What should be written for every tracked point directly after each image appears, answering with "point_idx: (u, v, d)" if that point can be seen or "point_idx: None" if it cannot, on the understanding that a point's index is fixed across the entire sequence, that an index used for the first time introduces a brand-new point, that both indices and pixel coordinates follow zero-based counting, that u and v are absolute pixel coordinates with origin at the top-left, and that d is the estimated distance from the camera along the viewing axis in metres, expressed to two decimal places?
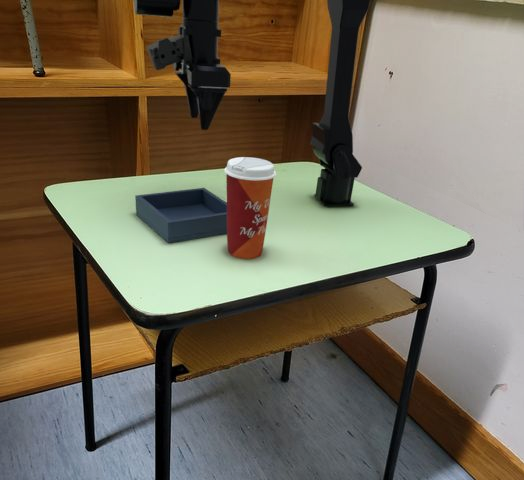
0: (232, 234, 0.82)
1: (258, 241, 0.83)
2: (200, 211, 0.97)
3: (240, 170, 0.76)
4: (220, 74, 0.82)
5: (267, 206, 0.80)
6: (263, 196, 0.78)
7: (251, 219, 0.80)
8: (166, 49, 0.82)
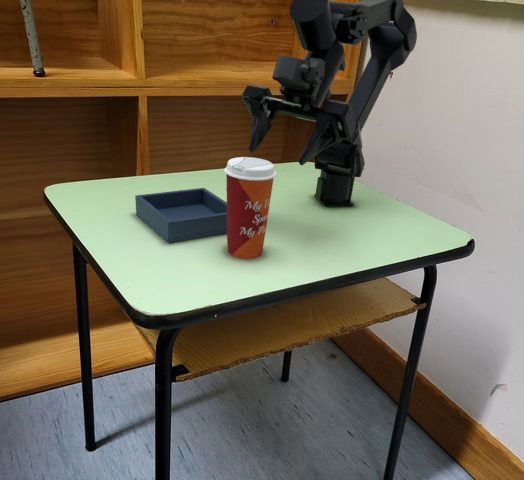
0: (232, 234, 0.82)
1: (258, 241, 0.83)
2: (200, 211, 0.97)
3: (240, 170, 0.76)
4: (354, 124, 0.83)
5: (267, 206, 0.80)
6: (263, 195, 0.78)
7: (251, 219, 0.80)
8: (320, 70, 0.78)
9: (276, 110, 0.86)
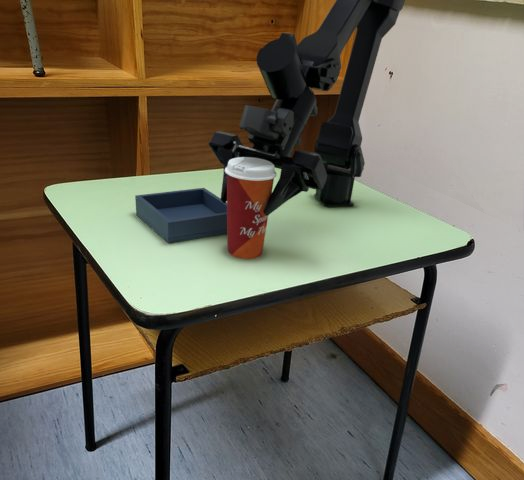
0: (232, 234, 0.82)
1: (258, 241, 0.83)
2: (200, 211, 0.97)
3: (240, 170, 0.76)
4: (325, 174, 0.79)
5: None
6: (263, 196, 0.78)
7: (251, 219, 0.80)
8: (289, 121, 0.75)
9: None
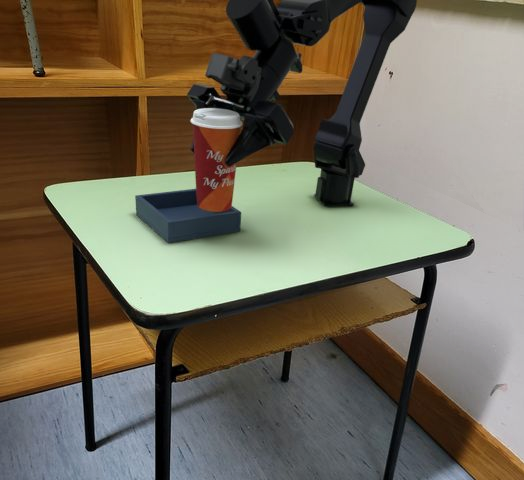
0: (198, 185, 0.83)
1: (223, 194, 0.83)
2: (200, 211, 0.97)
3: (201, 118, 0.76)
4: (290, 127, 0.78)
5: None
6: (224, 146, 0.78)
7: (213, 169, 0.80)
8: (251, 69, 0.74)
9: None
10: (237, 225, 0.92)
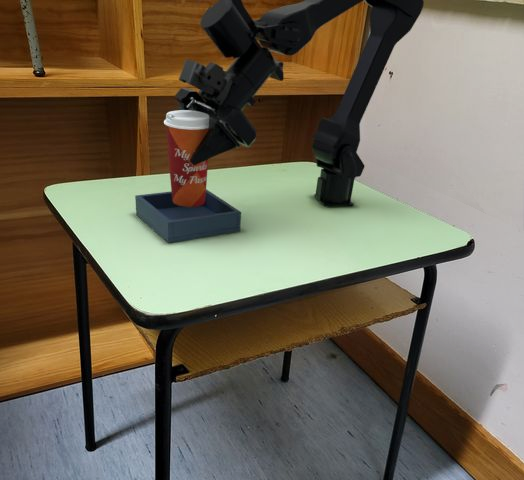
0: None
1: (192, 191, 0.88)
2: (200, 211, 0.97)
3: (170, 118, 0.83)
4: (251, 131, 0.81)
5: None
6: (190, 145, 0.84)
7: (181, 166, 0.86)
8: (215, 75, 0.79)
9: None
10: (237, 225, 0.92)
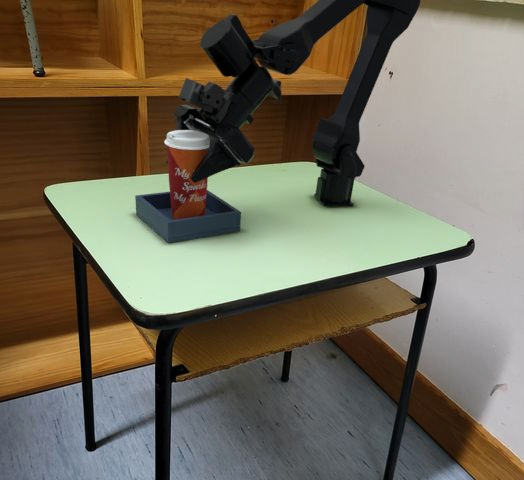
0: (171, 198, 0.91)
1: (191, 208, 0.90)
2: None
3: (170, 138, 0.84)
4: (249, 149, 0.83)
5: None
6: (190, 165, 0.85)
7: (181, 185, 0.87)
8: (214, 94, 0.81)
9: (199, 130, 0.90)
10: (237, 225, 0.92)
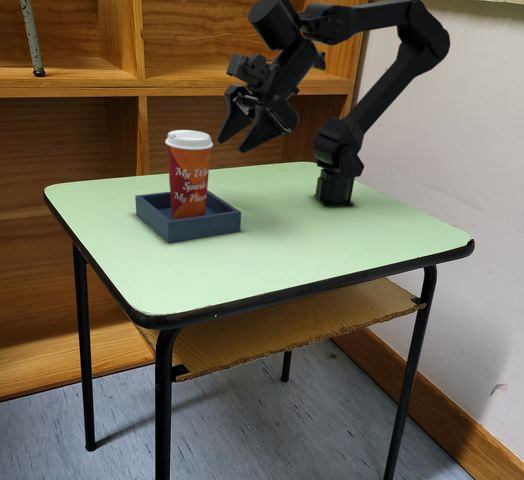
0: (171, 198, 0.91)
1: (192, 208, 0.90)
2: None
3: (171, 138, 0.84)
4: (294, 116, 0.84)
5: (199, 176, 0.87)
6: (191, 165, 0.85)
7: (181, 185, 0.87)
8: (259, 65, 0.83)
9: (248, 106, 0.94)
10: (237, 225, 0.92)
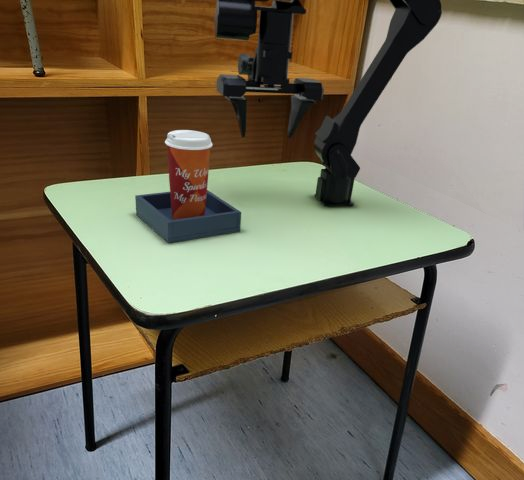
0: (171, 198, 0.91)
1: (192, 208, 0.90)
2: None
3: (171, 138, 0.84)
4: (221, 83, 0.92)
5: (199, 176, 0.87)
6: (191, 165, 0.85)
7: (181, 185, 0.87)
8: (239, 63, 0.98)
9: None
10: (237, 225, 0.92)
